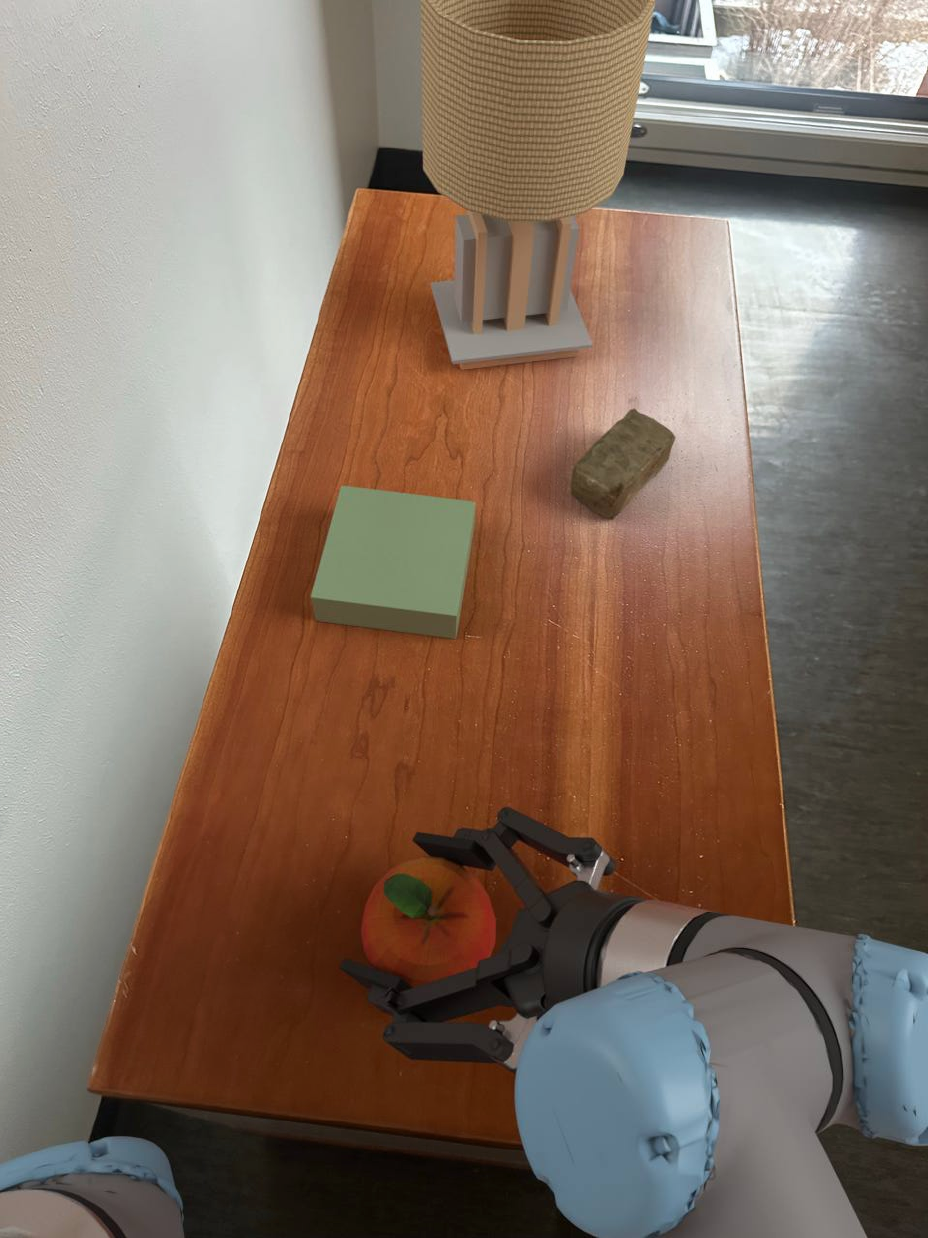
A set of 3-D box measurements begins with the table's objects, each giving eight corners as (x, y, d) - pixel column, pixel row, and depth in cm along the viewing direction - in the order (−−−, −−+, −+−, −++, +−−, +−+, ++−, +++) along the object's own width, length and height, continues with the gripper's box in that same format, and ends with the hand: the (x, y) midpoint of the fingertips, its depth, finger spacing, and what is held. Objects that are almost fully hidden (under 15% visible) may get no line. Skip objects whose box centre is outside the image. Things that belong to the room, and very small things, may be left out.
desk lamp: (440, 398, 97) (442, 52, 67) (411, 284, 107) (401, -61, 78) (613, 378, 100) (688, 34, 70) (568, 268, 110) (617, -73, 80)
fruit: (450, 1036, 63) (452, 1013, 55) (340, 962, 66) (326, 929, 57) (516, 919, 68) (528, 881, 59) (411, 853, 70) (408, 808, 62)
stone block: (563, 499, 90) (569, 465, 86) (625, 435, 95) (633, 400, 91) (611, 528, 88) (620, 494, 84) (671, 461, 93) (682, 427, 89)
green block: (456, 639, 81) (457, 616, 78) (315, 621, 82) (310, 597, 78) (474, 527, 88) (476, 501, 85) (344, 511, 89) (341, 484, 85)
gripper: (595, 1221, 44) (345, 1082, 61) (738, 832, 54) (491, 807, 71) (505, 1159, 40) (267, 1031, 57) (676, 759, 51) (433, 751, 68)
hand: (391, 907), depth 64 cm, fingers closed on fruit, 9 cm apart
